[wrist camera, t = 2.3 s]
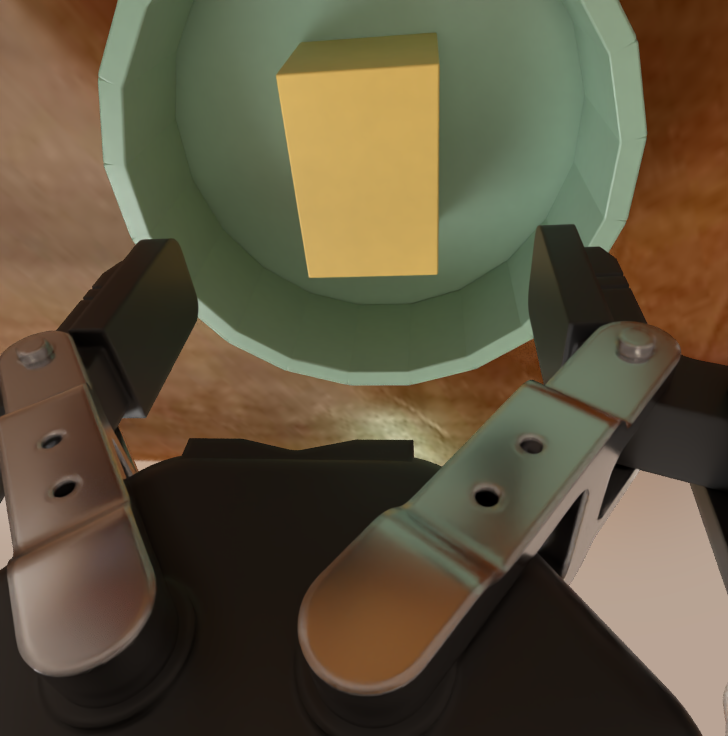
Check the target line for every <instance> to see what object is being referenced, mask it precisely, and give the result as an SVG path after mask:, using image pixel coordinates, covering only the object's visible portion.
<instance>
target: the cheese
mask: <svg viewBox="0 0 728 736" xmlns="http://www.w3.org/2000/svg"><path fill="white" fill-rule="evenodd" d="M439 79H440V65H439V52H438V39H437V33H422V34H408V35H394V36H381V37H367V38H353V39H339V40H325V41H312V42H301V43H300V44H299V45H298V46H297V48H296V49H295V50H294V52H293V53H292V54H291V56H290V57H289V58H288V60H287V61H286V62H285V64H284V65H283V66H282V68H281V69H280V70H279V72H278V73H277V74H276V80H277V86H278V92H279V98H280V105H281V111H282V117H283V123H284V129H285V135H286V141H287V147H288V154H289V160H290V166H291V172H292V178H293V184H294V190H295V196H296V203H297V209H298V215H299V221H300V227H301V233H302V239H303V245H304V252H305V258H306V264H307V270H308V276H309V278H329V277H368V276H407V275H437V274H438V235H439Z"/></svg>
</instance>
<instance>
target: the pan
mask: <svg viewBox="0 0 728 736" xmlns="http://www.w3.org/2000/svg"><path fill="white" fill-rule="evenodd" d="M422 33H437V39H438V52H439V65H440V79H439V235H438V274H437V275H407V276H368V277H329V278H309V276H308V270H307V264H306V258H305V252H304V245H303V239H302V233H301V227H300V221H299V215H298V209H297V203H296V196H295V190H294V184H293V178H292V172H291V166H290V160H289V154H288V147H287V141H286V135H285V129H284V123H283V117H282V111H281V105H280V98H279V92H278V86H277V80H276V74H277V73H278V72H279V70H280V69H281V68H282V66H283V65H284V64H285V62H286V61H287V60H288V58H289V57H290V56H291V54H292V53H293V52H294V50H295V49H296V48H297V46H298V45H299V44H300V43H301V42H312V41H325V40H339V39H353V38H367V37H381V36H394V35H408V34H422ZM98 76H99V78H98V89H99V104H100V119H101V134H102V149H103V162H104V168H105V170H106V173H107V176H108V178H109V181H110V183H111V186H112V189H113V191H114V194H115V197H116V199H117V202H118V205H119V207H120V210H121V213H122V215H123V218H124V221H125V223H126V226H127V229H128V231H129V234H130V237H131V238H132V240H133V241H134V243H135V244H137V243H138V242H139V241H140V240H142V239H166V238H173V239H175V240H176V241H177V242H178V243H179V245H180V247H181V249H182V252H183V255H184V258H185V261H186V264H187V267H188V270H189V273H190V276H191V279H192V282H193V285H194V288H195V292H196V295H197V299H198V318H199V319H201V320H202V321H203V322H204V323H205V324H207V325H208V326H209V327H210V328H211V329H213V330H214V331H215V332H216V333H217V334H219V335H220V336H221V337H222V338H223V339H225V340H226V341H228V343H230V344H232V345H234V346H236V347H238V348H241V349H243V350H245V351H247V352H249V353H251V354H253V355H255V356H257V357H259V358H261V359H263V360H265V361H267V362H269V363H271V364H273V365H275V366H277V367H279V368H281V369H283V370H287V371H290V372H294V373H299V374H303V375H307V376H312V377H316V378H320V379H325V380H329V381H333V382H337V383H342V384H348V385H411V384H417V383H421V382H425V381H429V380H433V379H437V378H441V377H445V376H449V375H453V374H457V373H461V372H465V371H469V370H473V369H477V368H478V367H480V366H482V365H484V364H486V363H488V362H490V361H492V360H494V359H495V358H497V357H499V356H501V355H503V354H505V353H507V352H509V351H510V350H512V349H514V348H516V347H518V346H520V345H522V344H524V343H525V342H527V341H529V340H531V339H533V338H534V336H533V332H532V327H531V323H530V318H529V311H528V290H529V281H530V272H531V264H532V255H533V247H534V238H535V232H536V228H537V226H538V225H559V224H575V226H576V228H577V230H578V233H579V235H580V238H581V240H582V243H583V245H584V247H597V246H600V247H601V248H603V249H604V250H605V251H607V252H609V250H610V249H611V247H612V245H613V244H614V242H615V240H616V239H617V237H618V235H619V234H620V232H621V230H622V229H623V227H624V225H625V224H626V220H627V219H628V215H629V211H630V207H631V202H632V198H633V194H634V190H635V185H636V181H637V177H638V173H639V168H640V164H641V160H642V156H643V152H644V147H645V143H646V139H647V138H646V136H647V126H646V116H645V106H644V96H643V85H642V75H641V65H640V55H639V45H638V41H637V40H636V35H635V33H634V30H633V28H632V26H631V24H630V22H629V20H628V18H627V16H626V14H625V12H624V10H623V8H622V6H621V4H620V2H619V0H118V2H117V6H116V10H115V13H114V17H113V21H112V24H111V28H110V32H109V36H108V39H107V43H106V47H105V51H104V54H103V58H102V62H101V65H100V69H99V73H98Z"/></svg>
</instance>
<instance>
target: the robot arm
mask: <svg viewBox="0 0 728 736" xmlns="http://www.w3.org/2000/svg"><path fill="white" fill-rule="evenodd" d="M83 299H84V300H81V301H80V302H79V303H78V305H77V306H76V307H75V308H74V309H73V311H72V312H71V313H70V314H69V316H68V317H67V318H66V319H65V320H64V322H63V323H62V324H61V325H60V327H59V328H58V329H57V330H56V331H46V332H41V333H37V334H33V335H30V336H28V337H25V338H23V339H21V340H19V341H17V342H16V343H14V344H13V345H11V346H10V347H9V348H7V349H6V350H5V351H4V352H3V353H2V354H1V356H0V503H1V501H2V500H3V498H4V496H5V500H6V506H7V512H8V519H9V524H10V531H11V537H12V544H13V552H14V553H13V557H12V559H10V560H9V562H8V564H7V566H5V567H4V568H3V569H1V570H0V736H702V734H701V732H700V731H699V729H698V727H697V726H696V724H695V723H694V721H693V719H692V718H691V716H690V715H689V714H688V712H687V711H686V710H685V708H684V707H683V706H682V704H681V703H680V702H679V701H678V699H677V698H676V697H675V696H674V695H673V694H672V693H671V692H670V691H669V689H668V688H667V687H666V686H665V685H664V684H663V683H662V682H661V681H660V680H659V679H658V678H657V677H656V676H655V675H654V674H653V673H652V672H651V671H650V670H649V669H648V668H647V666H645V664H644V663H643V662H642V661H641V660H640V659H639V658H638V657H637V656H636V655H635V654H634V653H633V652H632V651H631V650H630V649H629V648H628V647H627V646H626V645H625V644H624V643H623V642H622V640H620V639H619V638H618V636H617V635H616V634H615V633H614V632H613V631H612V630H611V629H610V628H609V627H608V626H607V625H606V624H605V623H604V622H603V621H602V620H601V619H600V618H599V617H598V616H597V614H596V613H595V612H594V611H593V610H592V609H591V608H590V607H589V606H588V605H587V604H586V603H585V602H584V601H583V600H582V599H581V598H580V597H579V596H578V595H577V594H576V593H575V592H574V591H573V590H572V588H570V586H569V585H570V583H571V582H572V580H573V579H574V577H575V575H576V574H577V572H578V570H579V568H580V567H581V565H582V563H583V561H584V559H585V557H586V555H587V552H588V550H589V548H590V546H591V544H592V542H593V540H594V538H595V537H596V535H597V533H598V532H599V530H600V529H601V528H602V526H603V525H604V523H605V522H606V520H607V519H608V517H609V516H610V514H611V513H612V511H613V510H614V508H615V507H616V505H617V504H618V502H619V501H620V499H621V498H622V496H623V495H624V494H625V492H626V491H627V489H628V487H629V486H630V484H631V483H632V482H633V480H634V479H635V477H636V476H637V474H638V473H639V471H640V470H642V471H646V472H650V473H654V474H658V475H661V476H665V477H669V478H673V479H677V480H681V481H685V482H688V483H690V486H691V489H692V491H693V494H694V497H695V500H696V503H697V506H698V509H699V512H700V515H701V518H702V521H703V524H704V526H705V529H706V532H707V535H708V538H709V541H710V544H711V547H712V549H713V553H714V556H715V559H716V561H717V565H718V567H719V570H720V573H721V576H722V579H723V582H724V585H725V588H726V591H727V594H728V366H726V365H721V364H715V363H710V362H705V361H700V360H696V359H692V358H689V357H685V356H683V355H681V349H680V346H679V344H678V343H677V341H676V340H675V339H674V338H673V337H672V336H671V335H670V334H668V333H667V332H665V331H663V330H661V329H660V328H657V327H655V326H652V325H649V324H647V322H646V320H645V318H644V316H643V314H642V311H641V309H640V307H639V305H638V303H637V301H636V299H635V297H634V295H633V293H632V291H631V288H629V284H628V282H627V280H626V278H625V276H623V272H622V270H621V268H620V265H619V263H618V261H617V259H616V258H615V257H613V256H612V255H611V254H609V253H608V252H607V251H605V250H604V249H603V248H601V247H600V246H597V247H584V245H583V243H582V240H581V238H580V235H579V233H578V230H577V228H576V226H575V224H559V225H538V226H537V228H536V232H535V238H534V247H533V255H532V264H531V272H530V281H529V290H528V311H529V318H530V323H531V327H532V332H533V336H534V341H535V345H536V350H537V355H538V359H539V364H540V368H541V373H542V377H543V382H544V385H543V384H541V383H539V382H536V381H534V380H529V381H527V382H525V383H524V384H523V385H522V386H520V387H519V389H518V390H517V391H516V392H515V393H514V394H513V395H512V396H511V397H510V398H509V399H508V400H507V401H506V402H505V403H504V404H503V405H502V406H501V407H500V408H499V409H498V410H497V411H496V412H495V413H494V414H493V415H492V416H491V417H490V418H489V419H488V420H487V421H486V422H485V423H484V424H483V425H482V426H481V427H480V429H479V430H478V431H477V432H476V433H475V434H474V435H473V436H472V437H471V438H470V439H469V440H468V441H467V442H466V443H465V444H464V445H463V446H462V447H461V448H460V449H459V450H458V451H457V452H456V453H455V454H454V455H453V456H452V457H451V458H450V459H449V460H448V461H447V462H446V463H445V464H444V465H443V466H442V467H441V466H439V465H437V464H434V463H431V462H429V461H426V460H422V459H418V458H414V446H413V440H352V441H347V442H341V443H336V444H331V445H325V446H320V447H315V448H310V449H304V450H289V449H284V448H280V447H276V446H271V445H267V444H263V443H258V442H254V441H250V440H245V439H208V438H189V440H188V443H187V445H186V447H185V450H184V452H183V454H182V456H178V457H174V458H171V459H167V460H164V461H161V462H159V463H156V464H154V465H151V466H149V467H147V468H145V469H143V470H141V471H138V469H137V466H136V464H135V462H134V459H133V457H132V454H131V452H130V450H129V447H128V445H127V442H126V440H125V437H124V435H123V433H122V431H121V429H120V427H119V426H118V425H119V423H120V421H121V419H122V418H146V417H147V415H148V413H149V411H150V409H151V407H152V405H153V403H154V402H155V400H156V398H157V396H158V394H159V392H160V390H161V388H162V386H163V384H164V382H165V381H166V379H167V377H168V375H169V373H170V371H171V369H172V367H173V365H174V363H175V361H176V360H177V358H178V356H179V354H180V352H181V350H182V348H183V346H184V344H185V342H186V340H187V339H188V337H189V335H190V333H191V331H192V329H193V327H194V325H195V323H196V321H197V318H198V299H197V295H196V292H195V288H194V285H193V282H192V279H191V276H190V273H189V270H188V267H187V264H186V261H185V258H184V255H183V252H182V249H181V247H180V245H179V243H178V242H177V241H176V240H175V239H173V238H166V239H142V240H140V241H139V242H138V243H137V244H136V245H135V246H134V248H133V249H132V250H131V251H130V253H129V254H128V255H127V257H126V258H125V259H124V260H123V261H121V262H119V263H118V264H116V265H115V266H113V267H112V268H110V269H109V270H107V271H106V272H104V273H103V274H102V275H101V277H100V278H99V279H98V280H97V281H96V283H95V284H94V285H93V286H92V289H90V290H89V291H88V292H87V294H86V295H85V296H84V297H83ZM723 706H724V714H725V721H726V735H725V736H728V683H727V685H726V687H725V691H724V695H723Z"/></svg>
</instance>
